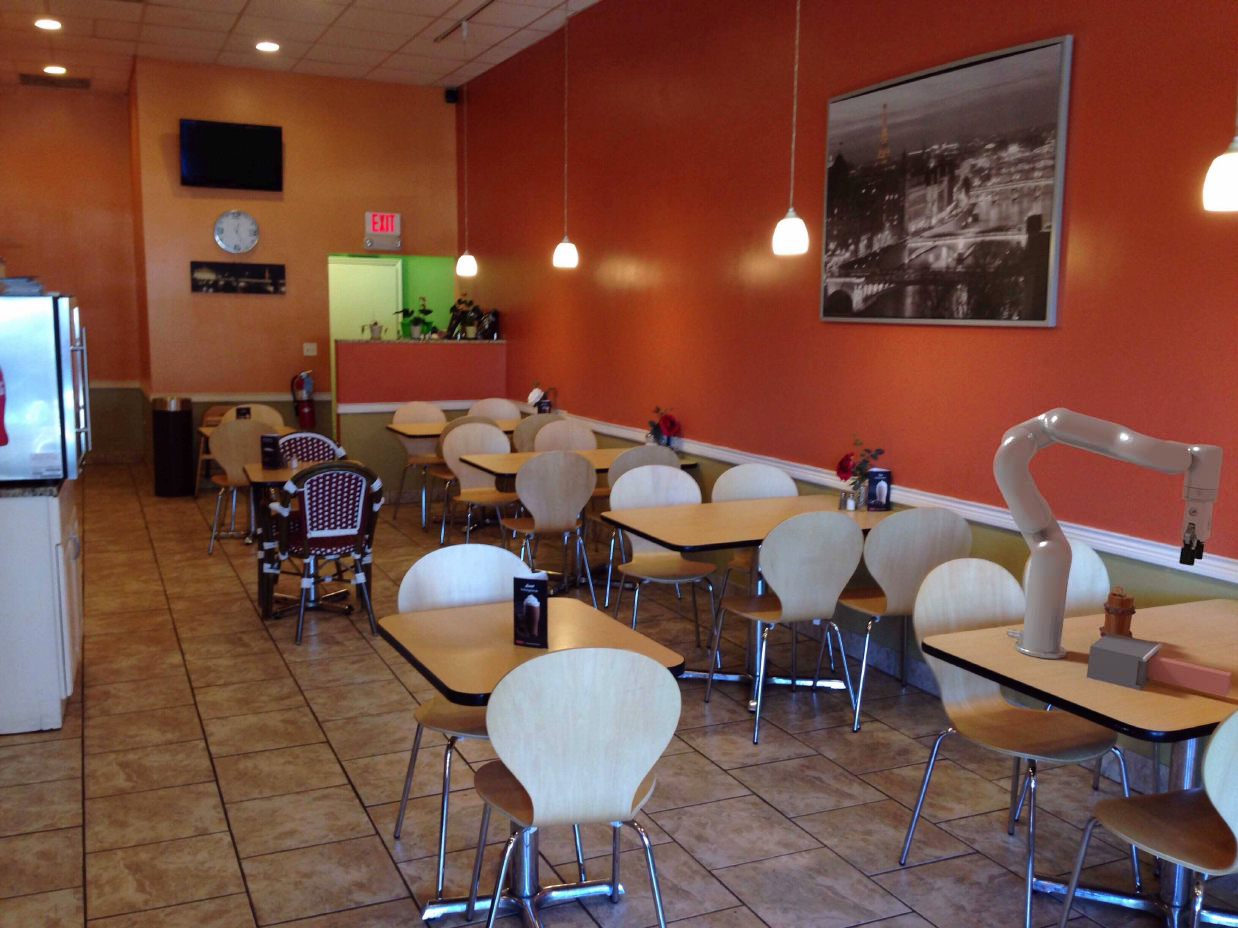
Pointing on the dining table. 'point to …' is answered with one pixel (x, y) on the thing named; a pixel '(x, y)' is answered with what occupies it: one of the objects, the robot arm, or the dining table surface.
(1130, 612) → the brown wooden cylinder bundle
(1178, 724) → the dining table surface
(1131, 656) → the dispenser
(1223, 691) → the long pink plank
